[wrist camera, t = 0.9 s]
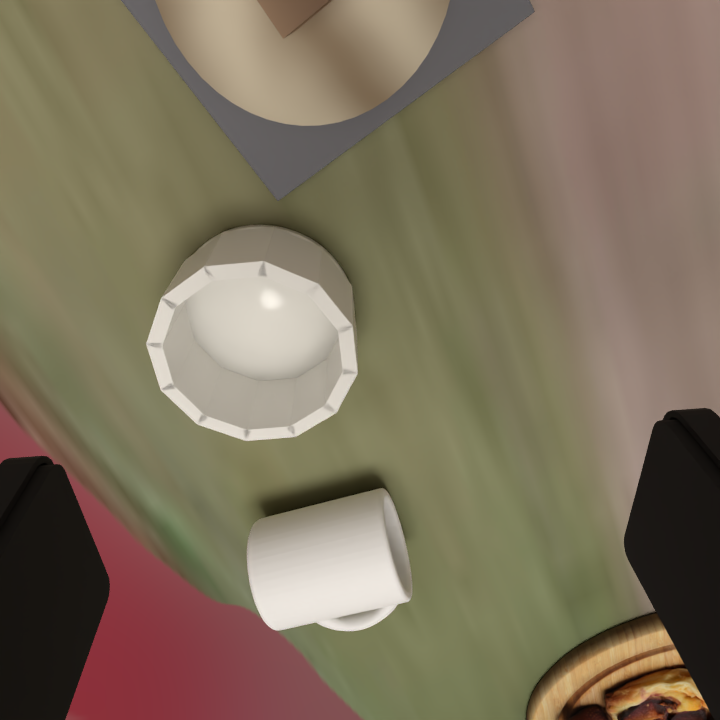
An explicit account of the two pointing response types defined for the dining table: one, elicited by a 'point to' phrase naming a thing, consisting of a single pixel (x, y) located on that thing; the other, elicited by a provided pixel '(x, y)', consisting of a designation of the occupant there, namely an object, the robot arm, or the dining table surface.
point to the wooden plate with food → (620, 679)
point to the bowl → (257, 334)
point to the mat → (326, 142)
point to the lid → (304, 52)
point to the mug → (330, 564)
